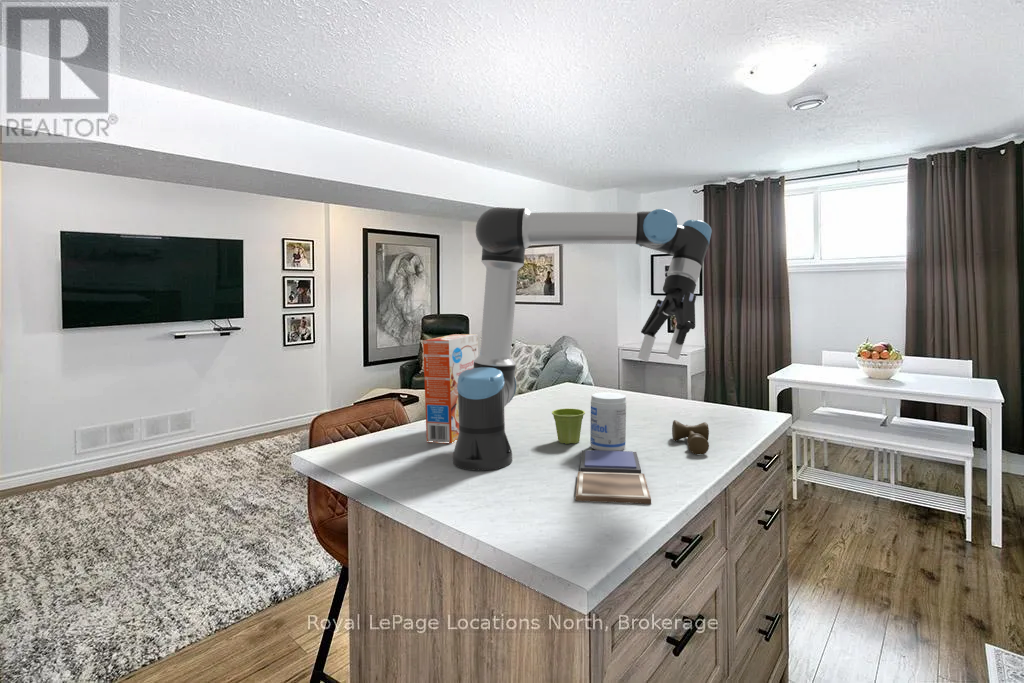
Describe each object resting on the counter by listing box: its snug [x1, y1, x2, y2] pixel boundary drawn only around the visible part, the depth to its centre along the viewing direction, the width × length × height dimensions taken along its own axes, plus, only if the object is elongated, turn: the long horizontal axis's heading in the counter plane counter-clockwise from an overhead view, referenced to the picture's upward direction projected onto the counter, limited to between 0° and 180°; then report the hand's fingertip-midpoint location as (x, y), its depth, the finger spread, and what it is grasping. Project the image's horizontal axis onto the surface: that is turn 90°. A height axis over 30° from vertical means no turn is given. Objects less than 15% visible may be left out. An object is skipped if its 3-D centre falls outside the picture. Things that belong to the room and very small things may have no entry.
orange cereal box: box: [422, 333, 479, 443], centre depth 160 cm, size 23×8×30 cm, turn 163°
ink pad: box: [579, 449, 642, 474], centre depth 128 cm, size 14×14×2 cm
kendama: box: [671, 419, 710, 455], centre depth 144 cm, size 6×10×20 cm
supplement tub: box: [589, 391, 627, 451], centre depth 142 cm, size 10×10×15 cm
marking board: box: [575, 471, 652, 505], centre depth 112 cm, size 15×15×1 cm
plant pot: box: [551, 408, 586, 445], centre depth 149 cm, size 9×9×9 cm
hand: (656, 358), depth 127 cm, fingers open, 13 cm apart
